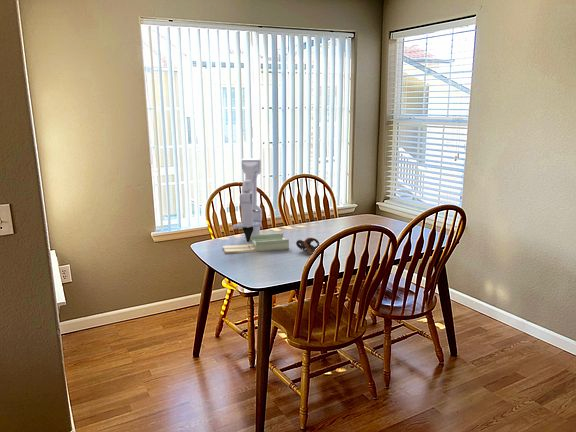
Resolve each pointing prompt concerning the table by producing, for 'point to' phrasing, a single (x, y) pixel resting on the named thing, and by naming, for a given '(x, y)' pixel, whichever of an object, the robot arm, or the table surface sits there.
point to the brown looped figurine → (307, 245)
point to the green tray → (270, 242)
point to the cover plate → (239, 248)
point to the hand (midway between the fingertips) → (248, 241)
